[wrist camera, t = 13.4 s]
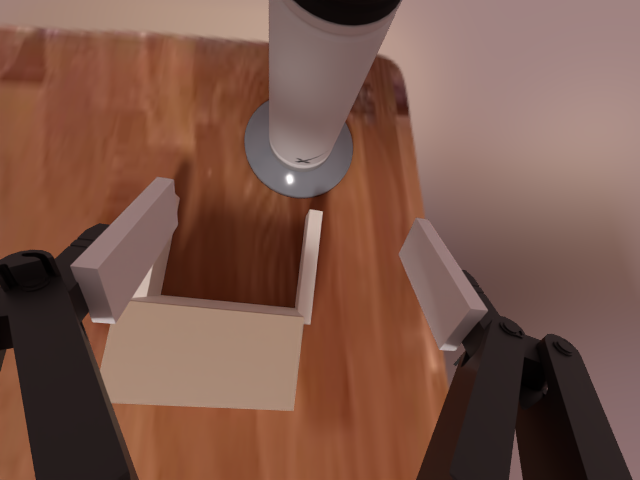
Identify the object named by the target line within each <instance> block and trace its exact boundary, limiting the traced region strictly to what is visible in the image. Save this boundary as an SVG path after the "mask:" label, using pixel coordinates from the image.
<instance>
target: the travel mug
mask: <svg viewBox="0 0 640 480" xmlns="http://www.w3.org/2000/svg"><path fill="white" fill-rule="evenodd" d="M401 1H402V0H269V145H270V149H271V152H272V154H273V156H274V157H275V159H276V160H277V161H278V162H279V163H280V164H281V165H282V166H284V167H286V168H287V169H290V170H292V171H296V172H309V171H313V170H315V169H317V168H319V167H320V166H322V165H323V164H324V163H325V162H326V160H327V159H328V157H329V155H330V153H331V151H332V149H333V146H334V144H335V142H336V140H337V138H338V136H339V134H340V131H341V129H342V127H343V125H344V123H345V121H346V119H347V117H348V114H349V112H350V110H351V108H352V106H353V104H354V102H355V99H356V97H357V95H358V93H359V91H360V89H361V87H362V85H363V82H364V80H365V78H366V76H367V74H368V72H369V70H370V68H371V65H372V63H373V61H374V59H375V57H376V55H377V53H378V50H379V48H380V46H381V44H382V42H383V40H384V38H385V36H386V33H387V31H388V29H389V27H390V25H391V23H392V20H393V18H394V16H395V13H396V11H397V9H398V7H399V6H400V4H401Z"/></svg>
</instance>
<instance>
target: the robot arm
mask: <svg viewBox="0 0 640 480" xmlns="http://www.w3.org/2000/svg"><path fill="white" fill-rule="evenodd" d="M177 226H178V217H177V207H176V197H175V187H174V179H168V178H161V177H157V178H156V179H155V180H154V181H153V182H152V183H151V184H150V185H149V186H148V187H147V188H146V189H145V190H144V191H143V192H142V193H141V194H140V195H139V196H138V197H137V198H136V199H135V200H134V201H133V202H132V203H131V204H130V205H129V206H128V207H127V208H126V209H125V210H124V211H123V212H122V213H121V215H120V216H119V217H118V218H117V219H116V220H115V221H114V222H113V223H112V224H111V225H108V224H100V223H99V224H97V225H95V226H93V227H91V228H89V229H87V230H85V231H84V232H83V233H82V234H81V235H80V236H79V237H78V239H77V240H75V241H74V242H73V243H72V244H70V246H68V247H67V248H66V249H65V250H64V251H63V252H62V253H61V254H60V255H59V256H58V257H56V258H55V259H54V257H53V256H52V255H51V254H50V253H49V252H46V251H43V250H27V251H21V252H17V253H14V254H11V255H8V256H6V257H5V258H3V259H1V260H0V371H1V367H2V363H3V360H4V356H5V352H6V349H10V348H14V353H15V359H16V364H17V370H18V376H19V382H20V388H21V394H22V400H23V406H24V412H25V418H26V424H27V430H28V436H29V441H30V447H31V453H32V459H33V465H34V471H35V477H36V480H139V479H138V476H137V474H136V471H135V468H134V465H133V462H132V460H131V457H130V454H129V451H128V449H127V446H126V443H125V440H124V437H123V435H122V432H121V429H120V426H119V423H118V421H117V418H116V415H115V412H114V409H113V407H112V404H111V401H110V398H109V395H108V393H107V390H106V387H105V384H104V382H103V379H102V376H101V373H100V370H99V368H98V365H97V362H96V359H95V356H94V354H93V351H92V348H91V345H90V342H89V340H88V337H87V334H86V331H85V328H84V326H83V323H82V320H83V318H84V317H85V316H86V315H87V313H88V312H89V314H90V317H91V319H92V322H99V323H111V324H116V322H117V321H118V319H119V318H120V316H121V315H122V313H123V311H124V310H125V308H126V307H127V305H128V303H129V302H130V300H131V299H132V297H133V296H134V294H135V292H136V291H137V289H138V288H139V286H140V285H141V283H142V281H143V280H144V278H145V277H146V275H147V273H148V272H149V270H150V269H151V267H152V266H153V264H154V262H155V261H156V259H157V258H158V256H159V254H160V253H161V251H162V250H163V248H164V247H165V245H166V243H167V242H168V240H169V239H170V237H171V236H172V234H173V232H174V231H175V229H176V228H177ZM399 256H400V259H401V261H402V263H403V266H404V268H405V270H406V273H407V275H408V277H409V280H410V282H411V284H412V287H413V289H414V291H415V294H416V296H417V298H418V301H419V303H420V305H421V308H422V310H423V312H424V315H425V317H426V320H427V322H428V324H429V327H430V329H431V331H432V334H433V336H434V338H435V341H436V343H437V345H438V348H439V350H451V351H455V350H456V349H457V348H458V346H459V345H460V344H461V343H462V344H463V346H464V348H465V352H464V353H463V354H462V355H461V357H459V359H458V360H457V361H456V362H455V363H454V365H455V366H456V365H457V364H458V367H457V369H456V372H455V375H454V377H453V380H452V383H451V386H450V388H449V391H448V394H447V397H446V399H445V402H444V405H443V408H442V410H441V413H440V416H439V419H438V421H437V424H436V427H435V430H434V432H433V435H432V438H431V441H430V443H429V446H428V449H427V451H426V454H425V457H424V460H423V462H422V465H421V468H420V471H419V473H418V476H417V479H416V480H509V473H510V465H511V457H512V449H513V441H514V433H515V430H516V436H517V443H518V450H519V456H520V463H521V470H522V476H523V480H632V477H631V475H630V472H629V470H628V468H627V466H626V463H625V460H624V458H623V456H622V453H621V451H620V449H619V446H618V444H617V441H616V439H615V437H614V434H613V432H612V429H611V427H610V424H609V422H608V420H607V417H606V415H605V413H604V410H603V408H602V405H601V403H600V400H599V398H598V396H597V393H596V391H595V388H594V386H593V384H592V382H591V379H590V376H589V374H588V372H587V369H586V367H585V364H584V362H583V360H582V357H581V355H580V354H579V352H578V350H577V349H576V348H575V347H574V346H573V345H572V344H571V343H570V342H568V341H567V340H565V339H563V338H561V337H560V336H557V335H554V334H547V335H546V336H545V337H544V338H543V339H542V340H538V339H536V338H533V337H530V336H527V335H525V333H524V332H523V330H522V329H521V328H520V327H519V326H518V325H517V324H516V323H515V322H513V321H512V320H510V319H508V318H506V317H502V316H500V315H499V314H498V312H497V311H496V309H495V308H494V307H493V305H492V304H491V302H490V301H489V299H488V298H487V296H486V295H485V294H484V292H483V291H482V289H481V288H480V287H479V285H478V283H477V282H476V280H475V279H474V278H473V277H472V276H471V275H470V274H469V273H468V272H467V271H465V270H461V269H460V267H459V266H458V264H457V262H456V261H455V259H454V258H453V256H452V255H451V254H450V252H449V251H448V249H447V247H446V246H445V244H444V243H443V241H442V240H441V238H440V237H439V235H438V234H437V232H436V231H435V229H434V228H433V226H432V225H431V223H430V222H429V220H427V219H420V218H416V219H415V221H414V223H413V225H412V227H411V229H410V232H409V234H408V236H407V238H406V240H405V242H404V244H403V246H402V249H401V251H400V253H399ZM547 387H548V389H547Z"/></svg>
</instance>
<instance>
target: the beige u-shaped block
mask: <svg viewBox="0 0 640 480" xmlns="http://www.w3.org/2000/svg"><path fill="white" fill-rule="evenodd" d="M175 197H176V207H177V210H178V205H179V200H180V198H179V197H178V196H177V195H176V194H175ZM322 214H323V211H317V210H311V209H310V210H309V212H308V214H307V215H306V219H305V227H304V235H303V243H302V252H301V260H300V268H299V277H298V285H297V293H296V301H295V308H289V307H279V306H268V305H258V304H248V303H238V302H228V301H218V300H207V299H197V298H187V297H177V296H167V295H161V291H162V286H163V281H164V276H165V271H166V266H167V261H168V256H169V251H170V246H171V240H172V236H171V237H170V239H169V240H168V242H167V243H166V245H165V247H164V248H163V250H162V251H161V253H160V254H159V256H158V258H157V259H156V261H155V262H154V264H153V266H152V267H151V269H150V270H149V272H148V273H147V275H146V277H145V278H144V280H143V281H142V283H141V285H140V286H139V288H138V289H137V291H136V292H135V294H134V296H133V297H132V299H131V300H130V302H129V303H128V305H127V307H126V308H125V310H124V311H123V313H122V315H121V316H120V318H119V319H118V321H117V322H116V324H110V329H109V333H108V338H107V342H106V346H105V351H104V355H103V360H102V364H101V369H100V373H101V376H102V379H103V382H104V384H105V387H106V390H107V393H108V395H109V398H110V401H111V403H122V404H146V405H169V406H192V407H216V408H239V409H263V410H286V411H294V402H295V393H296V385H297V376H298V367H299V358H300V350H301V341H302V332H303V324H310V323H311V314H312V305H313V296H314V287H315V277H316V268H317V259H318V250H319V241H320V232H321V223H322ZM172 235H173V234H172Z"/></svg>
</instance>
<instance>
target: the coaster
mask: <svg viewBox="0 0 640 480" xmlns="http://www.w3.org/2000/svg"><path fill="white" fill-rule="evenodd" d="M245 150H246V156H247V159H248V162H249V165H250V167H251V169H252V170H253V172H254V174H255V175H256V176H257V177H258V179H259V180H260V181H261V182H262V183H263V184H264V185H266V186H267V187H268V188H270V189H271V190H273V191H275V192H277V193H279V194H281V195H284V196H287V197H292V198H312V197H316V196H319V195H322V194H324V193H326V192H328V191H330V190H331V189H333V188H334V187H335V186H336V185H337V184H338V183H339V182H340V181H341V180H342V178H343V177H344V176H345V174H346V172H347V171H348V169H349V166H350V164H351V160H352V155H353V143H352V138H351V134H350V131H349V129H348V126H347V124H346V123H344V125H343V127H342V129H341V131H340V134H339V136H338V138H337V140H336V142H335V144H334V146H333V149H332V151H331V153H330V155H329V157H328V159H327V160H326V162H325V163H324V164H323V165H322V166H320V167H319V168H317V169H315V170H313V171H309V172H296V171H292V170H290V169H287V168H286V167H284V166H282V165H281V164H280V163H279V162H278V161H277V160H276V159H275V157H274V156H273V154H272V152H271V149H270V145H269V100H268V101H267V102H265V103H264V104H262V105H261V106H260V107H259V108H258V109H257V110H256V111H255V112H254V114H253V115H252V117H251V118H250V120H249V122H248V124H247V128H246V131H245Z"/></svg>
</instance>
